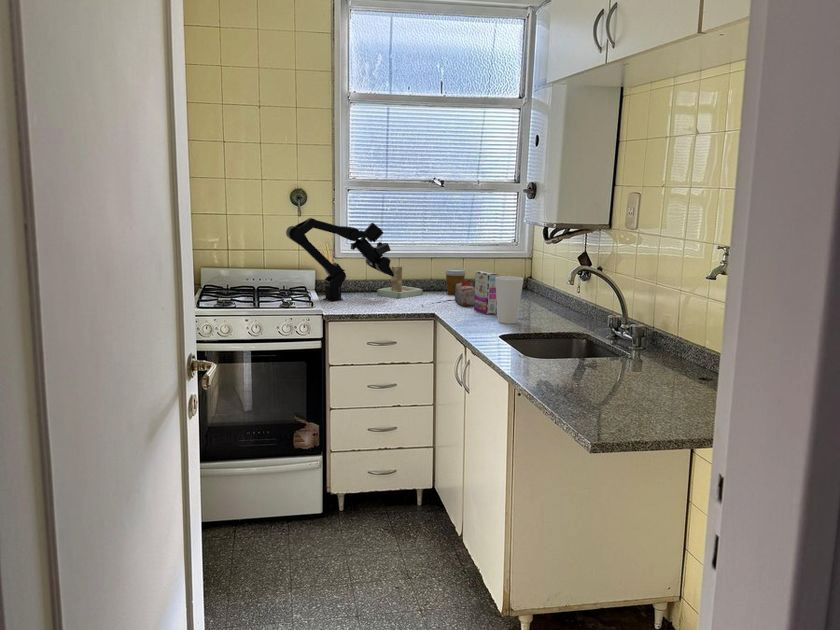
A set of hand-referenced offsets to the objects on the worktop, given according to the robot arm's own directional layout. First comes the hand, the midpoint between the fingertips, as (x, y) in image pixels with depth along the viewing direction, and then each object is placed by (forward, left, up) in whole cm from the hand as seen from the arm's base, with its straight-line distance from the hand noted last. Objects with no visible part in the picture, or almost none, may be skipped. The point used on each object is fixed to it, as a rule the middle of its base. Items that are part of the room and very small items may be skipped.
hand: (390, 274), depth 340 cm
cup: (-8, -68, -11) cm, 69 cm away
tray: (+5, -2, -10) cm, 12 cm away
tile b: (+10, +1, -9) cm, 14 cm away
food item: (+12, -33, -11) cm, 36 cm away
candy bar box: (+3, -50, -11) cm, 51 cm away
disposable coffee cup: (+26, -17, -11) cm, 33 cm away
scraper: (+3, -2, -9) cm, 10 cm away
